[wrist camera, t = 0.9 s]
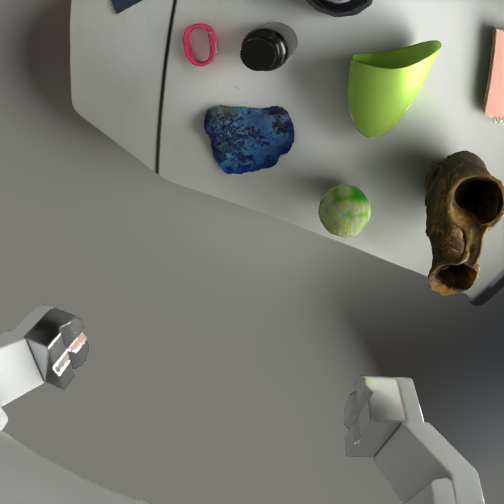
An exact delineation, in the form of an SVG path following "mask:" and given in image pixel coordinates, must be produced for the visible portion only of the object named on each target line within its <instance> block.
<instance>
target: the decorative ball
mask: <svg viewBox="0 0 504 504" xmlns="http://www.w3.org/2000/svg"><path fill="white" fill-rule="evenodd" d="M370 213H371V207H370V204H369V201H368V199H367V198H366V196H365V195H364V194H363V193H362V192H361V191H360V190H359V189H358V188H357V187H355V186H351V185H345V184H340V185H336V186H333V187H331V188H330V189H329V190H328V191H327V192H326V193H325V194H324V195H323V196H322V199H321V202H320V206H319V216H320V220H321V222H322V224H323V225H324V227H325V228H326V230H327V231H329V232H330V233H331V234H334V235H337V236H341V237H351V236H354V235H356V234H359V233H360V232H361V231H362V230H363V229H364V227H365V226H366V225H367V223H368V221H369V219H370Z"/></svg>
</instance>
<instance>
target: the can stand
mask: <svg viewBox="0 0 504 504" xmlns="http://www.w3.org/2000/svg"><path fill="white" fill-rule="evenodd" d="M306 1H307V2H308V3H309V4H310V5H311V6H312V7H314V8H315V9H316V10H317V11H319V12H323V13H326V14H329V15H332V16H334V17H336V16H337V17H343V16H352V15H357V14H359V13H360V12H361V11H363V10H364V9H366V8H367V7H369V6H370V4H372V1H373V0H366V1H365V2H364V3H362V4H361V5H359V6H358V7H357V8H355V9H354V10H344V11H336V10H333V9H330V8H327V7H324V6H322V5H321V4H320V3H319V2H318V1H317V0H306Z"/></svg>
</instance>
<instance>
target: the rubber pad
mask: <svg viewBox="0 0 504 504" xmlns="http://www.w3.org/2000/svg"><path fill="white" fill-rule="evenodd" d="M111 1H112V3H113V6H114V8H115V11H116V13H117V14H118V13H120V12H122V11H123V10H125V9H127V8H129V7H130V6H132V5H134V4H136V3H138V2H140V1H142V0H111Z"/></svg>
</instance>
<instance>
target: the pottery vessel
mask: <svg viewBox="0 0 504 504" xmlns="http://www.w3.org/2000/svg"><path fill="white" fill-rule="evenodd" d="M438 165H439V166H438ZM438 165H435V166H432V167H431V169H430V171H429V173H428V177H427V178H426V182H425V187H426V189H427V192H426V195H425V206H426V207H427V208H426V213H427V220H426V234H427V236H428V237H429V239H430V242H431V246H432V254H433V260H432V268H431V270H430V271H429V275H428V278H429V280H430V282H429V285H430V286H429V287H431V289H432V290H433V291H436V292H438V293H439V294H440V295H442V296H443V295H444V296H446V295H449V294H455V295H456V294H457V293H459V292H463V291H465V290H468V289H469V288H470V287H472V286H473V285H474V284H475V282H476V280H477V279H478V277H479V276H480V269H479V265H478V264H476V263H477V261H478V259H479V257H480V254H481V249H482V244H483V239H484V237H485V234H486V232H487V231H488V230H489V229H491V228H492V227H495V225H496V224H497V223H498V222H499V221H500V219H501V218H502V216H503V215H504V185H503V183H502V182H501V181H500V180H498V179H496V178H494V177H493V176H491V174H490V173H489V172H488V171H487V168H486V166H485V164H484V162H483V161H482V160H481V159H480V158H479V157H478V156H477V155H475V154H473V153H471V152H468V151H461V152H457V153H454V154H452V155H450V156H447V159H446V160H445V161H444V163H443V164H442V166H441V165H440V164H438Z"/></svg>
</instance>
